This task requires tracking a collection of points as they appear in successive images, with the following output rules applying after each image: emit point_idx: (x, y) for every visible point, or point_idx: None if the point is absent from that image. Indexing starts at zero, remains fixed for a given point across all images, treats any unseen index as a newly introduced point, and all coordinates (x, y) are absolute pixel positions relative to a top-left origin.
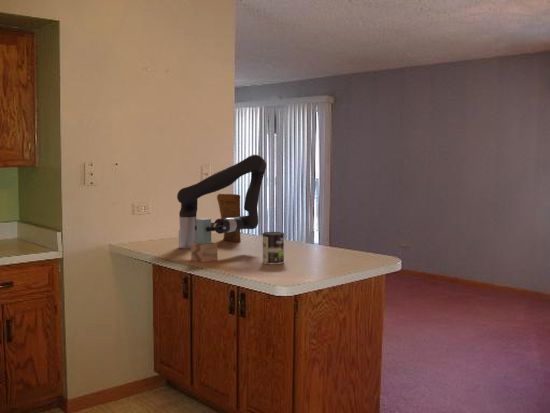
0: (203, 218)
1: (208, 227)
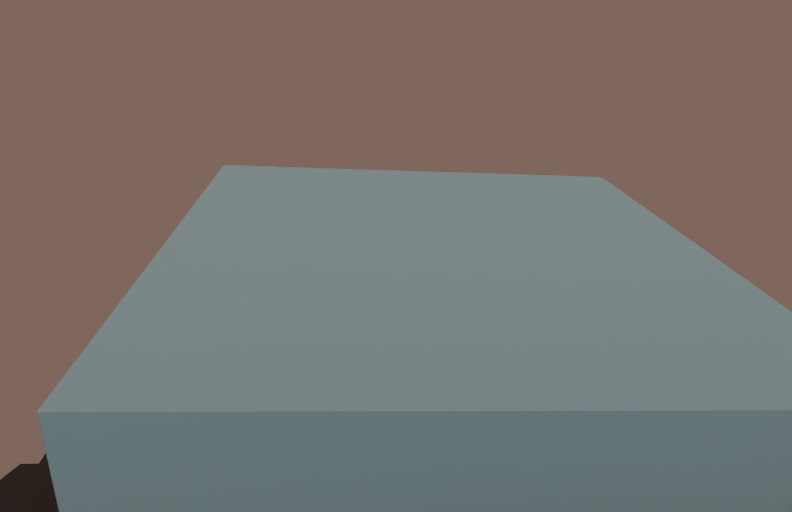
0: (739, 324)
1: (48, 464)
